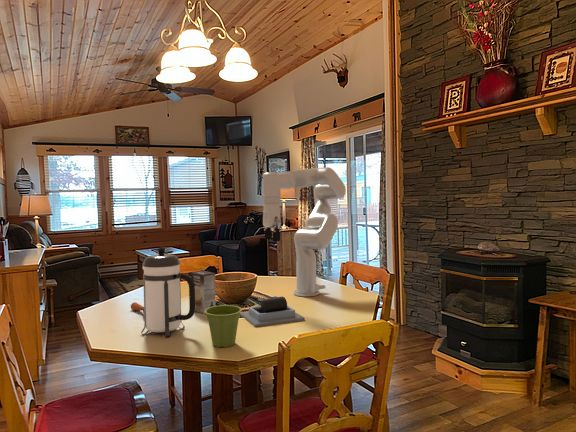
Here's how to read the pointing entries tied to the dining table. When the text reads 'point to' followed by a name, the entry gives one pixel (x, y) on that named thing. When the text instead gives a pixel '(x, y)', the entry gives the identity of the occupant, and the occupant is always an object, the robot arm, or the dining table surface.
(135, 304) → the kendama
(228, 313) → the plant pot
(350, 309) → the dining table surface
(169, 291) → the coffee press
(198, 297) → the coffee box
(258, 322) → the tray
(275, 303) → the black lumpy block
